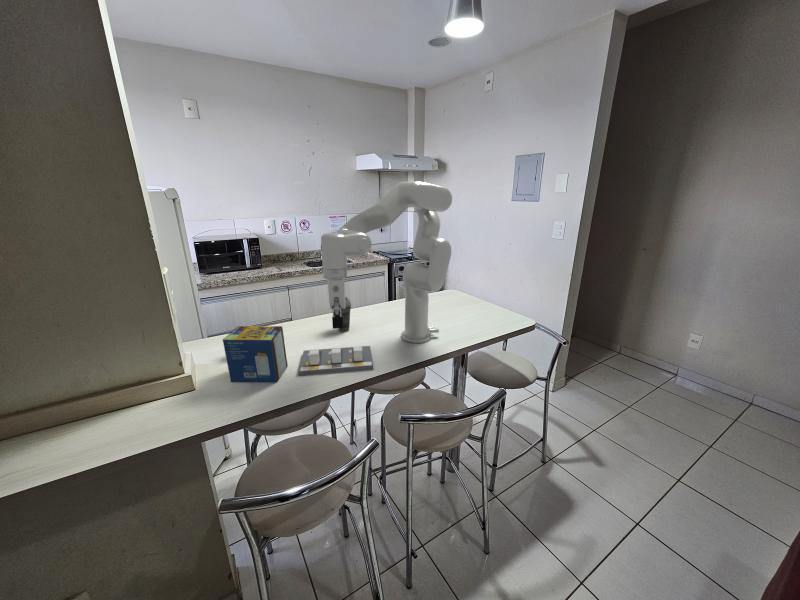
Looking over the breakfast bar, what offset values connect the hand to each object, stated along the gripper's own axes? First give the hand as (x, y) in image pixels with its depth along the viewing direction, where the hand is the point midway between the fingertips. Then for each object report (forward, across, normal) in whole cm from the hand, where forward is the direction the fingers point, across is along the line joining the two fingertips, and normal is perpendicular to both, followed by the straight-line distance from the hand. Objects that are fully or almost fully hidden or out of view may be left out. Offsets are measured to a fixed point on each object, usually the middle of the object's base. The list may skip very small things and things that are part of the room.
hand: (337, 322), depth 109 cm
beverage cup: (+17, +31, -2) cm, 36 cm away
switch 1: (+15, +1, +8) cm, 17 cm away
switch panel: (+17, +4, +1) cm, 17 cm away
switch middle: (+15, +1, +1) cm, 15 cm away
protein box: (+18, 0, +26) cm, 32 cm away
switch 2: (+15, +1, -6) cm, 16 cm away
